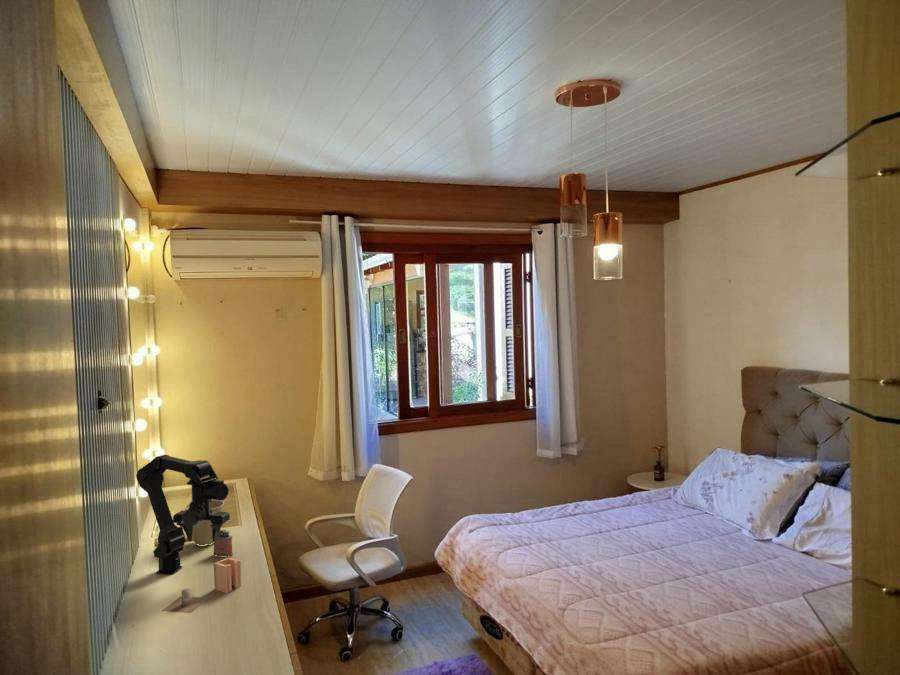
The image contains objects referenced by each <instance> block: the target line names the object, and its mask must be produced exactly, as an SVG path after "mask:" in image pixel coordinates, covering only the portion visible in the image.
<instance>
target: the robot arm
mask: <svg viewBox="0 0 900 675" xmlns="http://www.w3.org/2000/svg"><path fill="white" fill-rule="evenodd" d="M167 470H169V471H173V472H176V473H180V474H183V475H184V476H185V478H187V479H189V480H188V481H187V482H186V485H188V486H191V501H190V502H189V503H188V504H189V509H188V510H187V511H186V510H185V509H184V510H183V509H182V510H180V511H178V512H176V513H174V514H173V517H172V514H171V511H170V508H169V505H168V501H167V498H166V496H165V493H164V490H163V483H164V479H165V478H164V473H165V472H166V471H167ZM135 477H136V480H137V483H138V485H139V487H140V488H141V489H143V490H144V491H145V492H146V493H147V496H148V499H149V502H150V504H151V507H152V511H153V514H154V516H155V520H156V523H157V525H158V528H159V532H158V536H157V542H158V545H157V546H156V548H155V549H154V550H153V552H152V553H153V556H154V558H156V559H158V570H157V571H156V572H155V573H163V574H162V575H174V574H175V573H176V572H178V571H179V570H181V569H182V568H183V565H181V557H180V552H182V551H183V549H184V546H185V543H186V538H187V541H189V542H192V540H193V537H192V531H193V525H196V524H197V523H198V521H202V520H211V523H212V524H211V525H210V526H211V527H212V540H213V542H215V541H216V539H217V536H218V534H219V531H220V530H222V529H221V528H222V527H223V525H224V524H225V523H226V522H227V521H230V520H231V518H230V513H229V512H228V511H223V512H217V513H216V514H214V515H210V513H212V510H210V502H211V501H212V500H220V501H224V500H226V498H227V497H228V494H229V486H228V485H227V484H226V483H225V482H224V480H223V479H219V477H218V475H217V472H216V471H215V470H214V468H213V466H212V464H211V463H210V461H208V460H205V459H204V460H203V459H202V460H201V459H200V460H187V459H184V458H178V457H176V456H175V457H174V456H170V455H168V454H162V455H158V456H155V457H154V458H153V459H152V460H151V461H150V462H148V463H147V464H146V465H143V467H141V468H139V469H138V470H137V472H136V474H135ZM181 567H182V568H181ZM180 568H181V569H180ZM178 569H179V570H178ZM177 570H178V571H177ZM175 571H176V572H175ZM174 572H175V573H174Z"/></svg>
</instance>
